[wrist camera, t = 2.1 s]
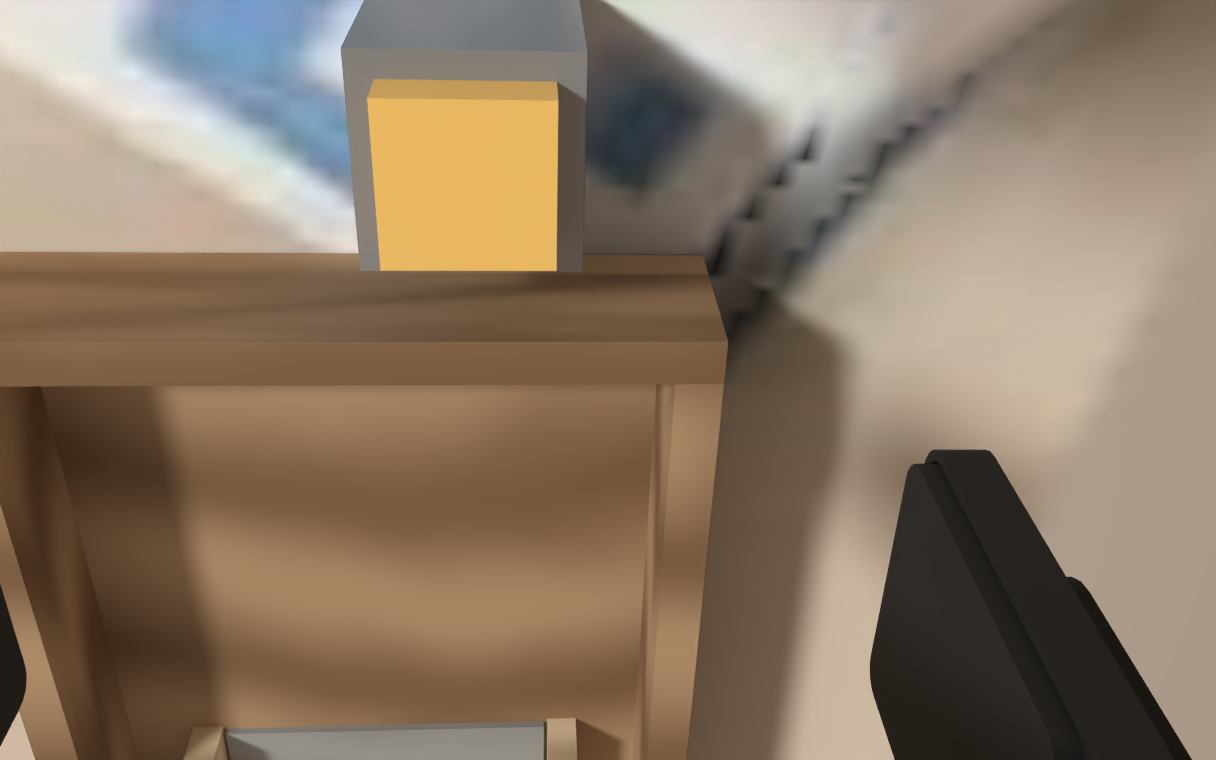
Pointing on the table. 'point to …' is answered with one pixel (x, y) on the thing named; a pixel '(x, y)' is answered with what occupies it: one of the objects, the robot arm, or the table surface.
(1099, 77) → the table surface
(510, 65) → the block
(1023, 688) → the robot arm
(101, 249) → the table surface
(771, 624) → the table surface
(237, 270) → the crate
